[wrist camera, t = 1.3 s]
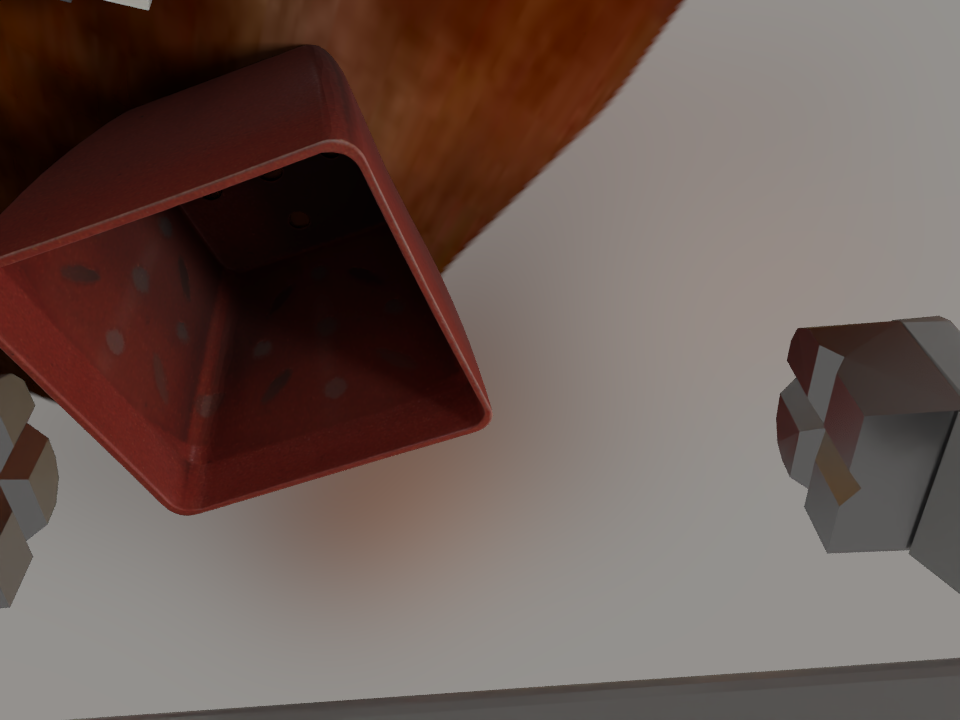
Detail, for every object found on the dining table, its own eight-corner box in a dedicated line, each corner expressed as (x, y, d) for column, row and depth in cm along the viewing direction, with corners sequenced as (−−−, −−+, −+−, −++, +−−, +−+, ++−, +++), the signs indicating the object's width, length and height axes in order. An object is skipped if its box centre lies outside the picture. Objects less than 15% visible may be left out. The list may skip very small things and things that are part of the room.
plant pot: (206, 324, 63) (176, 525, 52) (26, 87, 50) (-71, 284, 38) (467, 236, 61) (499, 427, 49) (348, -39, 47) (352, 131, 36)
